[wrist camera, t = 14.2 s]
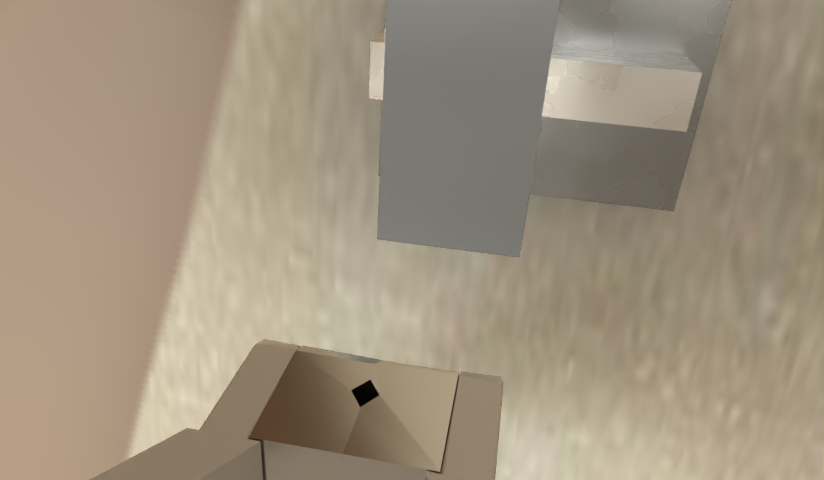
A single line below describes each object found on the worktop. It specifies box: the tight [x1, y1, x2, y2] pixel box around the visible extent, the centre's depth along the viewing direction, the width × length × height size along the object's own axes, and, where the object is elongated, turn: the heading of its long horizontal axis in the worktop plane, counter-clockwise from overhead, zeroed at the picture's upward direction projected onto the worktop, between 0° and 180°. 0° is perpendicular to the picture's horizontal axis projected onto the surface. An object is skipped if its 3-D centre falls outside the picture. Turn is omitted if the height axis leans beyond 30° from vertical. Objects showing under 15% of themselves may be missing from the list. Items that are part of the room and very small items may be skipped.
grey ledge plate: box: [369, 0, 731, 211], centre depth 24 cm, size 12×10×4 cm
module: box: [377, 0, 560, 257], centre depth 22 cm, size 4×9×7 cm, turn 177°
